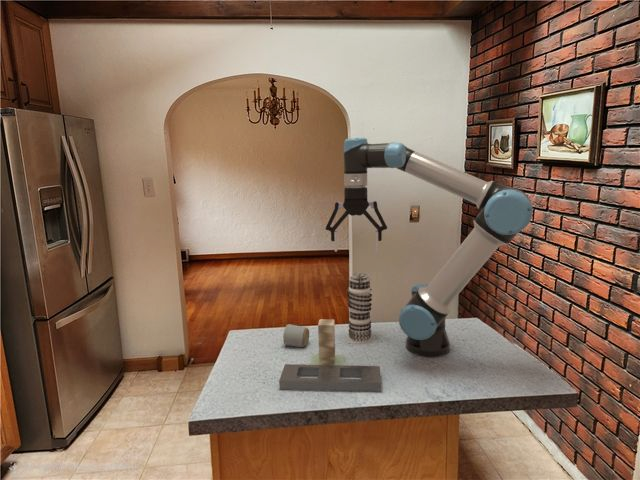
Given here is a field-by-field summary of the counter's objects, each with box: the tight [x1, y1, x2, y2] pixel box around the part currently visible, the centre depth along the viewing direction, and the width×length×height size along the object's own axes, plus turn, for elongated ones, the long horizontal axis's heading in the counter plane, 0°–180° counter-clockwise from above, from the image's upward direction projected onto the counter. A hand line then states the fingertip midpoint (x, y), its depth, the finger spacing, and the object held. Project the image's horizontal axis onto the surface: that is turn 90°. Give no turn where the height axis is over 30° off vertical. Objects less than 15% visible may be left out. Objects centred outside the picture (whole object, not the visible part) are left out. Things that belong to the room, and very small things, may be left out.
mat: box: [309, 353, 345, 365], centre depth 139 cm, size 11×11×1 cm
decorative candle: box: [346, 272, 373, 344], centre depth 155 cm, size 9×9×25 cm
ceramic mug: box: [282, 323, 310, 348], centre depth 154 cm, size 11×8×8 cm
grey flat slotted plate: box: [278, 363, 383, 393], centre depth 127 cm, size 30×10×3 cm, turn 85°
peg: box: [317, 318, 336, 365], centre depth 137 cm, size 5×5×14 cm
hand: (356, 250), depth 139 cm, fingers open, 13 cm apart
